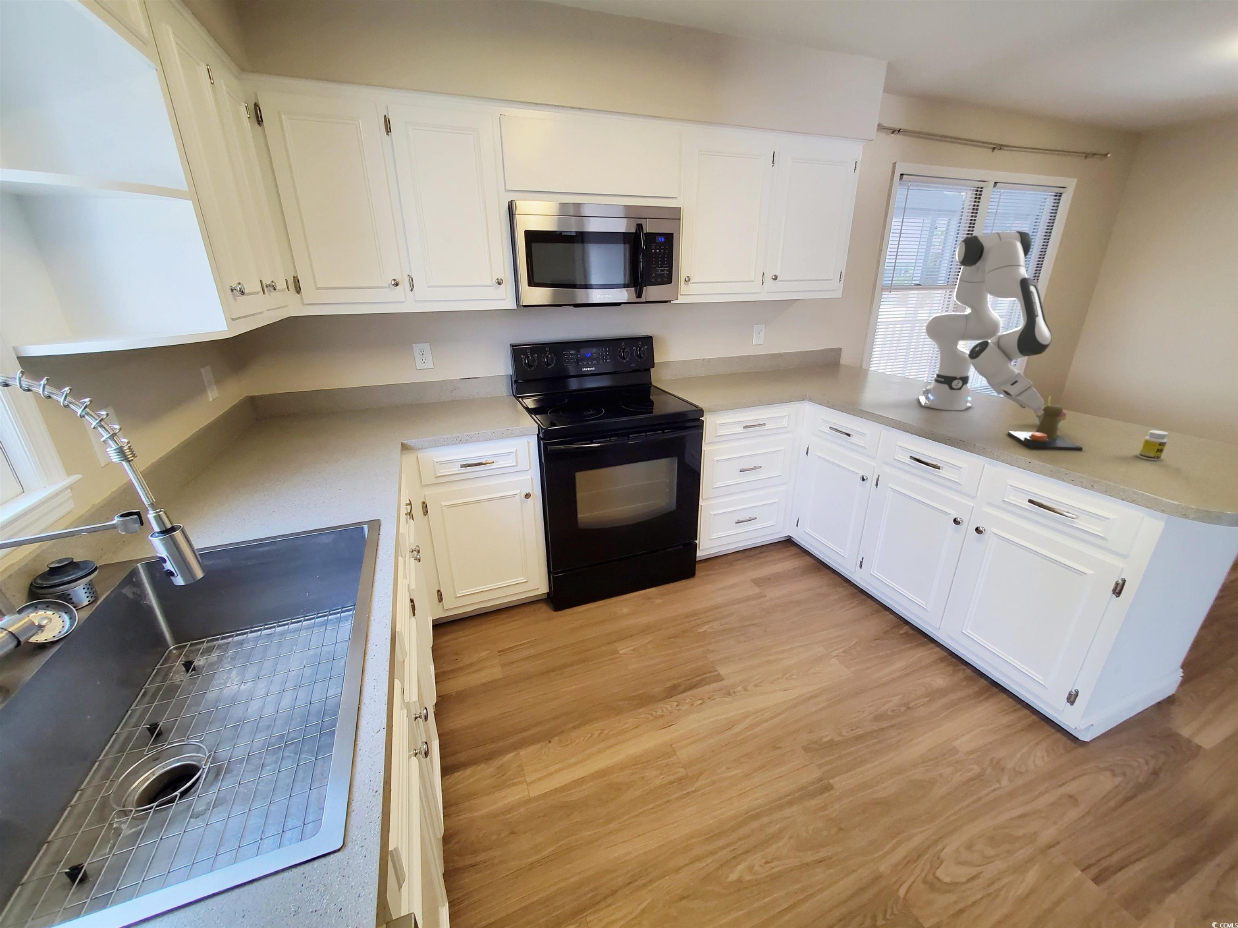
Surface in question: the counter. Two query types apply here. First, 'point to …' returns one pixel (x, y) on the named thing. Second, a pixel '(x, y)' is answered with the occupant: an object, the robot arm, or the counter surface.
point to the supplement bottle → (1153, 445)
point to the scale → (1044, 442)
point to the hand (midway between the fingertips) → (1032, 410)
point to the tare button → (1038, 436)
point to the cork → (1050, 421)
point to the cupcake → (1061, 417)
